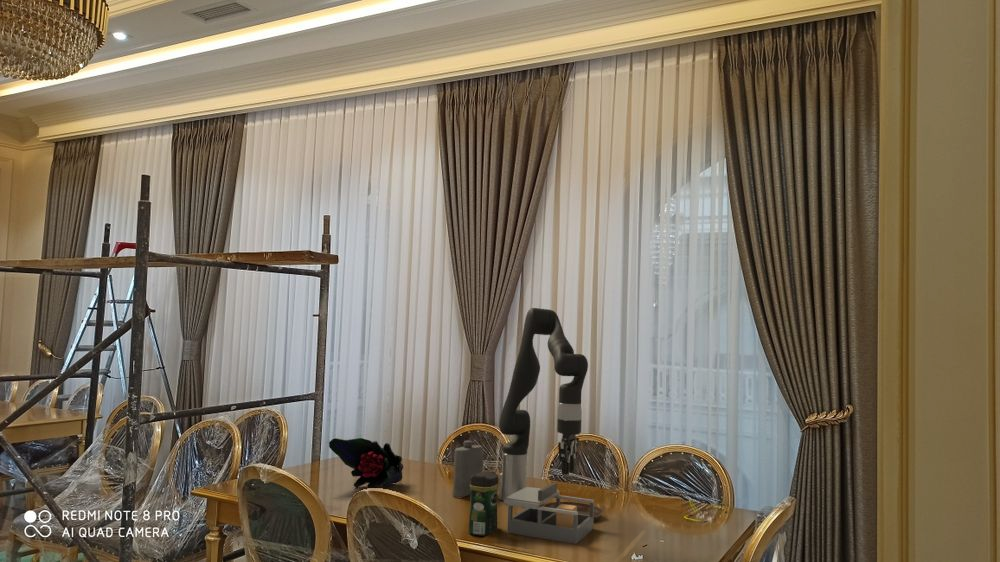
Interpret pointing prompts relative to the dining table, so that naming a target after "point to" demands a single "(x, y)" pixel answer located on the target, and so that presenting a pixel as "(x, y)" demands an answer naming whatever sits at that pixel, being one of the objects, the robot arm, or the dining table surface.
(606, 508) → the dining table surface
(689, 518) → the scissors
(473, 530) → the coffee jar
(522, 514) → the case
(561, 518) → the module
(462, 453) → the flask
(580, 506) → the plant saucer
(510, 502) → the lid
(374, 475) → the decorative plant
